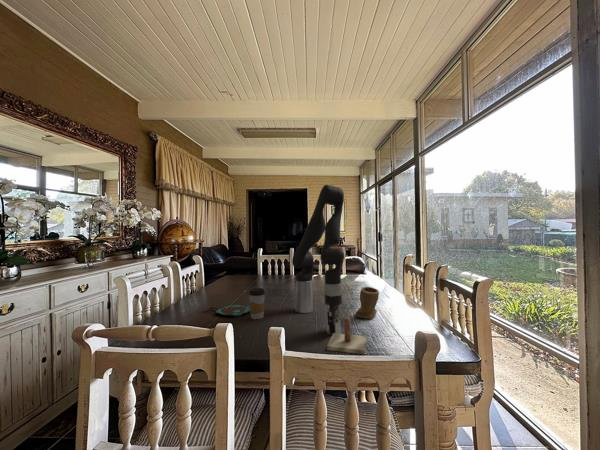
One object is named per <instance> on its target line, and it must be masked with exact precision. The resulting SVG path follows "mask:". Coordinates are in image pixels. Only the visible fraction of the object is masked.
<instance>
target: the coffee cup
mask: <svg viewBox="0 0 600 450" xmlns="http://www.w3.org/2000/svg"><path fill="white" fill-rule="evenodd" d="M265 292H266V291H265V289H264V288H261V287H256V288H255V287H254V288H251V289H249V292H248V296H249V297H248V298H249V306H250V312H249V313H250V318H251V319H252V318H253V319H260V318H264V312H265V294H266V293H265Z"/></svg>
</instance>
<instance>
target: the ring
mask: <svg viewBox="0 0 600 450" xmlns="http://www.w3.org/2000/svg"><path fill="white" fill-rule="evenodd" d="M325 322H326V323H325V324H326V325H325V326H326V333H327V334H328V335H333V334H330V325H328V319H326V321H325ZM331 322H332V320H331ZM341 329H342V328H341V320H340V319H339V318H338V319H336V320H335V333H339V334H341V332H342V330H341Z"/></svg>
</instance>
